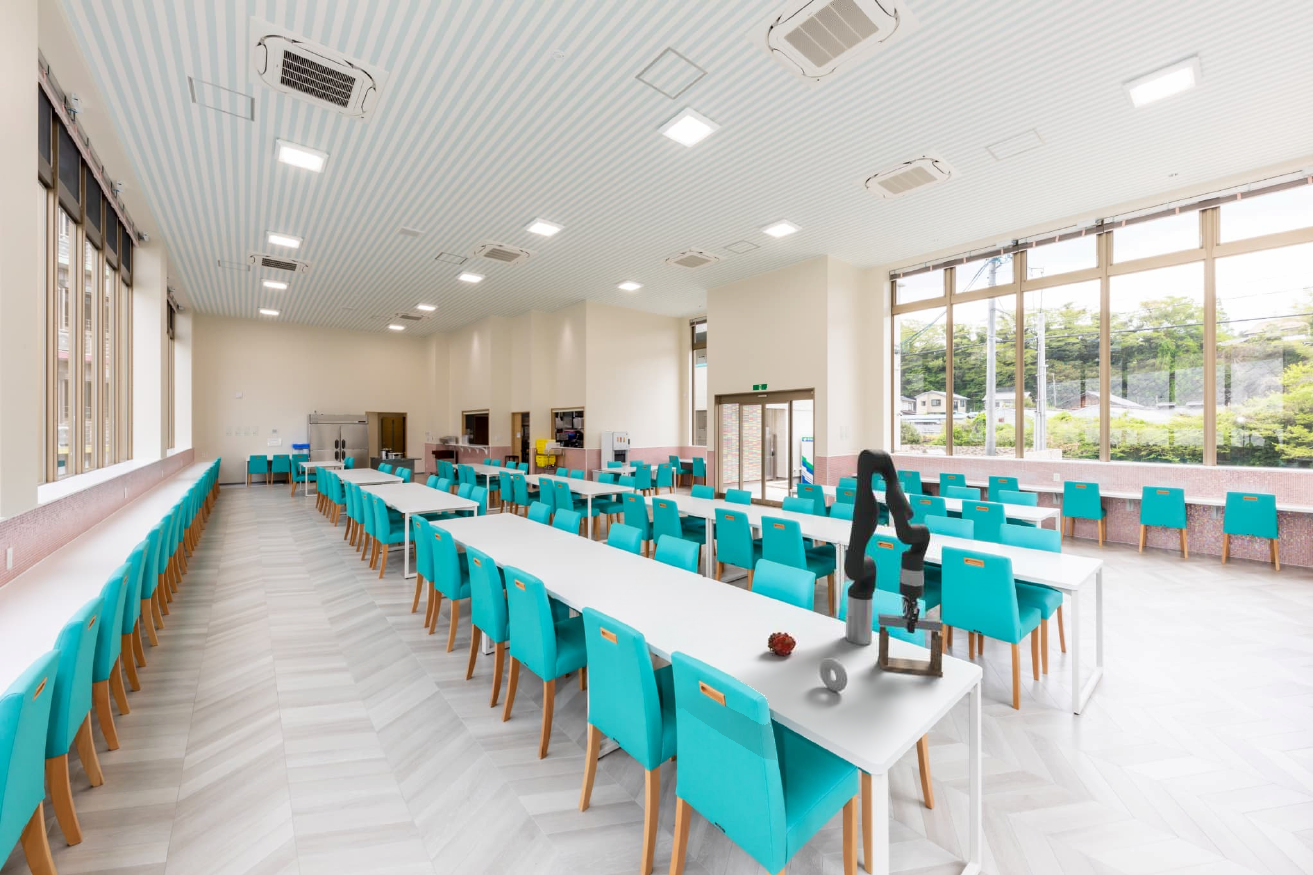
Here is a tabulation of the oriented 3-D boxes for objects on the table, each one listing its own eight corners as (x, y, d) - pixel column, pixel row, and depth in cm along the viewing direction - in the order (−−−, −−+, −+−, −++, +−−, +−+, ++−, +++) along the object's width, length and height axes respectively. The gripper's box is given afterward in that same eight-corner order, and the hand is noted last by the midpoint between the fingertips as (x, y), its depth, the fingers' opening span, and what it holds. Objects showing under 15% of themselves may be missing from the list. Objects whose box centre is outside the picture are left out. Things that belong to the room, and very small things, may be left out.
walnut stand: (882, 670, 184) (883, 632, 184) (877, 660, 192) (878, 624, 191) (942, 676, 180) (943, 637, 180) (935, 666, 188) (936, 629, 188)
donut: (816, 684, 172) (817, 653, 172) (824, 682, 174) (825, 651, 174) (841, 698, 164) (842, 666, 164) (849, 695, 165) (850, 663, 165)
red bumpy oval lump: (764, 658, 195) (792, 659, 199) (776, 652, 188) (805, 653, 192) (760, 635, 200) (787, 636, 204) (772, 628, 193) (799, 629, 197)
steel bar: (879, 625, 186) (880, 616, 186) (878, 622, 189) (878, 613, 189) (942, 631, 182) (942, 622, 182) (939, 628, 185) (940, 619, 185)
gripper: (895, 574, 193) (893, 622, 193) (904, 586, 179) (902, 637, 180) (917, 576, 191) (915, 624, 192) (929, 588, 178) (927, 639, 178)
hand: (909, 630), depth 186 cm, fingers closed on steel bar, 3 cm apart
